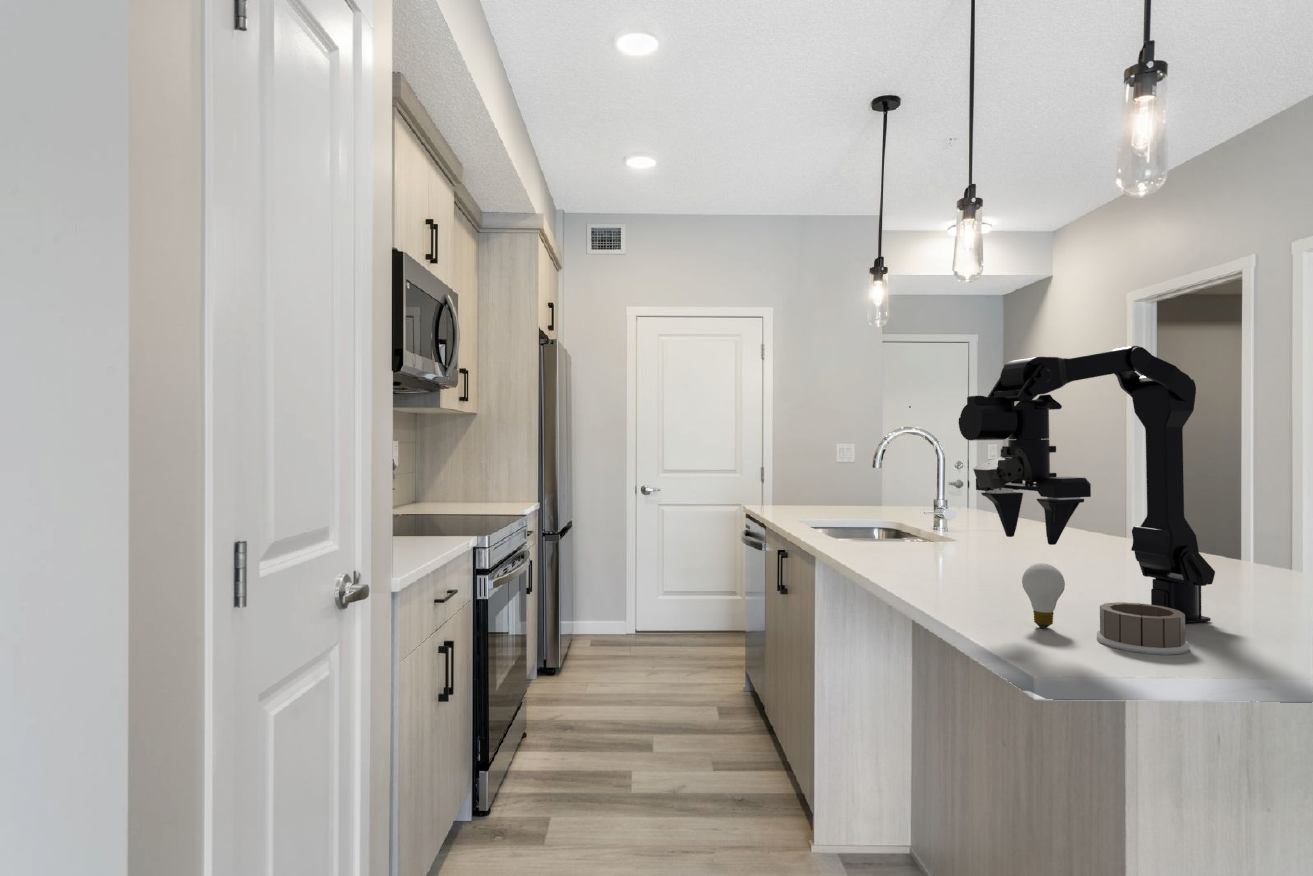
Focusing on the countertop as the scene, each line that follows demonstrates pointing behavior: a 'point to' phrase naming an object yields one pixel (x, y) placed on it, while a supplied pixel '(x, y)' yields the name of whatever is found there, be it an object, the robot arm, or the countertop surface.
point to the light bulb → (1043, 591)
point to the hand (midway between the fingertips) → (1030, 540)
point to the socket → (1142, 628)
